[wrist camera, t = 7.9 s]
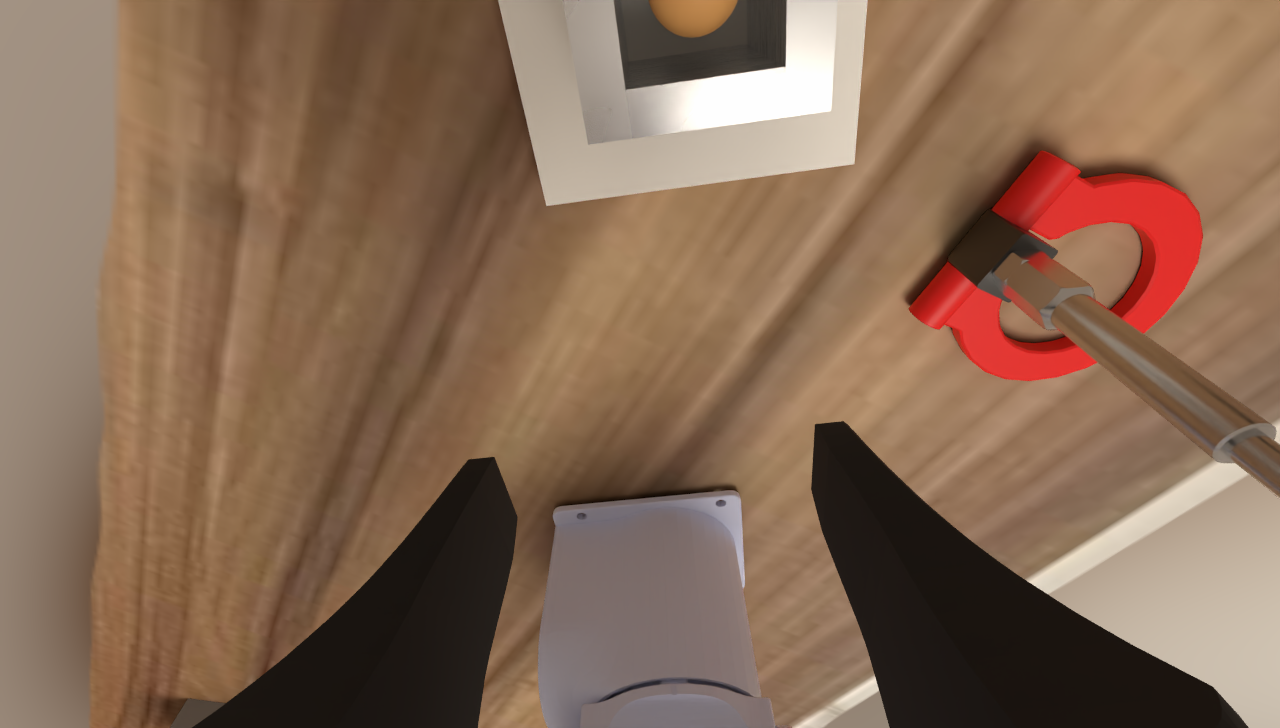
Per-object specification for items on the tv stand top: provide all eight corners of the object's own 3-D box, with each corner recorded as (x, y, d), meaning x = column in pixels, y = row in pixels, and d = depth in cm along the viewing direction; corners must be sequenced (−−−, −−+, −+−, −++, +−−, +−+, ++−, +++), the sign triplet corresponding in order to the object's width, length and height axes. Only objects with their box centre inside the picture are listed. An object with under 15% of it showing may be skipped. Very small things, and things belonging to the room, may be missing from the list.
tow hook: (1227, 225, 21) (1051, 116, 18) (1853, 497, 10) (1650, 332, 8) (1046, 388, 25) (884, 319, 22) (1357, 695, 15) (1121, 632, 12)
